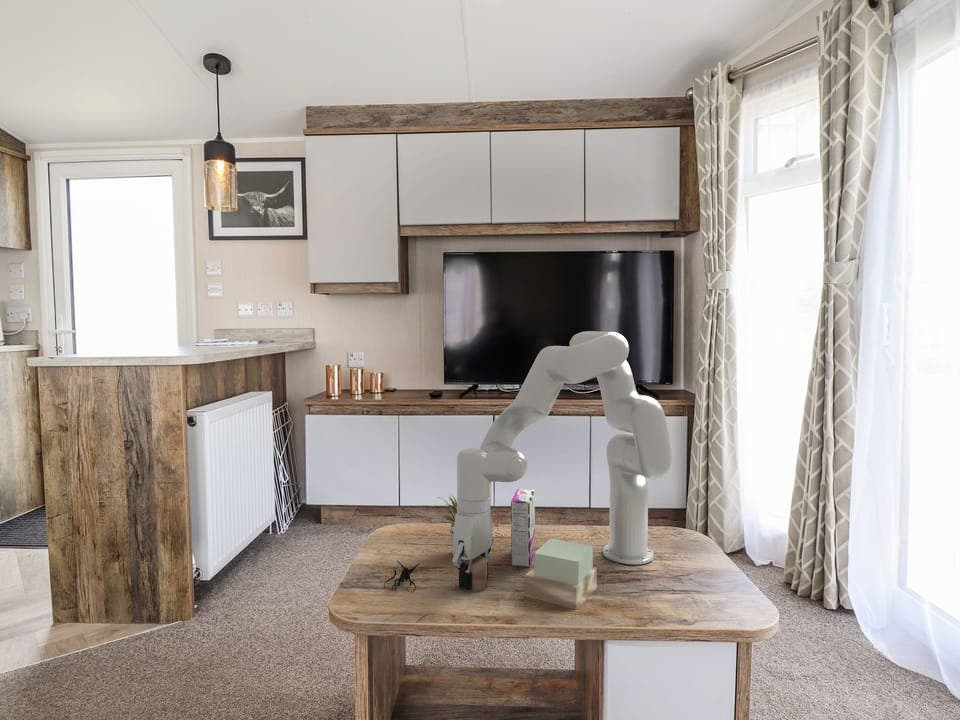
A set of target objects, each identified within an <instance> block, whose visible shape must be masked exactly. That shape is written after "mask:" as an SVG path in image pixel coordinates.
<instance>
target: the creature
mask: <svg viewBox="0 0 960 720" xmlns="http://www.w3.org/2000/svg"><path fill="white" fill-rule="evenodd" d="M396 561H397V563H398V565H400V566H401V567H402V570H401V569H400V568H398V570H399V572H400V576H399V578H398V577H396V576H397V570H396V569H394V570H393V572H394V574H393V576H392V577H391V578H389V579H387V580H385V582H384V583H383V588H385V589H386V587H385V584H386V583H387V582H390V581H391V580H392V581H393V580H394V579H395V580H394V584H392V586H388V587H387V588H388V589H389V588H392V589H391V592H393V590H394V592H396V590H397V588H398V587H400V585H401V584H400V582H401V583H404V582H408V580H409V587H411V586H412V585H414V589H413V591H412V593H414V592H415V591H416V589H417V587H416V585H415V582H413V581H412V579H411V574H413V572H414V570H415V569H416V568H417V567H418V566H419V565H421V564H422V563H421V562H420V563H418V564H416V565H414V567H412V568H410V569H409V567H408V566H404V565H403V564H401V562H399V561H398V559H396ZM397 581H398V582H397ZM405 589H406V590H407V591H408V592H410V590H409V588H408V587H405Z"/></svg>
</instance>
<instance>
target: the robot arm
mask: <svg viewBox="0 0 960 720" xmlns="http://www.w3.org/2000/svg"><path fill="white" fill-rule="evenodd" d="M629 352H630V346H629V343H628V341H627V338H625V337H624V336H623V335H622V334H620V333H619V332H615V331H593V330H592V331H581V332H579V333H576V334H574V335H573V336H572V337H571V339H570V341H569V346H565V345H564V346H562V345H553V346H552V345H550V346H549V345H548V346H546V347H544V348H543V349H540V351H539V353H538V354H537V356H536V358H535V359H534V362H533V363H532V366H531V367H530V369H529V371H528V374H527V375H526V378H525V379H524V382H523V384H522V386H521V388H520V390H519V392H518V393H517V395H516V396H515V399H514V400H513V402H512V403H510V404H509V405H508V406H507V407H506V408H505V409H503V411H502V412H501V413H500V414H499V415H498V416H497V417H496V419H495V420H494V421H493V422H492V424H491V425H490V427H489V429H488V430H487V432H486V434H485V436H484V438H483V440H482V442H481V445H480V447H479V448H465V449H462V450H460V451H459V452H458V453H457V458H456V459H457V460H456V483H457V484H456V491H457V492H456V494H457V495H456V497H457V498H456V501H457V513H455V515H456V516H454V517H455V522H454V527H453V528H454V531H453V547H452V555H453V557H452V560H451V561H452V564H453V565H454V567H455V568H456V569H457V571H458V588H459V589H462V590H463V589H466V590H469V591H470V590H472V572H470V570H471V565H472V560H473V559H474V558H476V557H477V556H479V555H480V556H483V557H485V558H486V559H487V579H488V578H489V561H490V552H491V551H492V546H493V543H494V538H493V528H492V527H493V525H492V514H491V506H492V504H491V503H492V502H491V499H492V498H491V489H492V488H491V487H492V486H491V484H492V483H493V482H500V483H513V482H516V481H520V479H522V478H524V476H525V474H526V472H527V470H528V461H527V459H526V457H525V455H524V454H523V453H522V452H520V451H519V450H517V449H515V448H512V446H513V444H514V442H515V440H516V439H517V437H518V436H519V435H520V433H522V432H523V430H525V429H527V428H528V427H529V426H531V425H534V424H536V423H539V422H540V421H542V420H544V419H545V418H547V417H548V416H549V414H550V412H551V411H552V408H553V406H554V404H555V402H556V401H557V398H558V396H559V394H560V392H561V390H562V388H563V387H564V384H568V385H576V384H581V383H583V382H587V381H589V380H592V379H594V378H597V381H598V384H599V385H598V386H599V390H600V396H601V400H602V406H603V412H604V416H605V419H606V423H607V424H608V425H609V426H610V427H611V428H613V429H616V430H619V431H623V432H619V433H617V434H615V435H613V436H612V437H611V438H610V439H609V441H608V443H607V446H606V460H607V466H608V474H609V524H608V525H609V530H608V531H609V537H608V538H609V540H608V541H609V542H608V544H606V545H604V546H603V548H602V555H603V556H604V557H605V558H606V559H608V560H610V561H612V562H615V563H619V564H625V565H645V564H649V563H650V562H652V561H653V559H654V555H655V554H654V551H652V549H650V548H649V547H648V536H649V535H648V528H649V527H648V525H649V523H648V522H649V515H648V514H649V484H648V480H647V478H648V479H652V480H657V479H660V478H663V477H664V476H666V475H667V474H668V472H669V471H670V469H671V465H672V447H671V442H670V435H669V429H668V425H667V424H668V423H667V418H666V414H665V411H664V409H663V407H662V406H661V404H660V403H659V401H657V400H656V399H655V398H653V397H650V396H648V395H642V394H639V393H638V391H637V389H636V384H635V379H634V376H633V372H632V368H631V367H630V364H629V362H628V361H627V359H628V357H629ZM464 554H466V555H467V557H464ZM464 560H467V566H466V565H465V564H464V563H463V562H464Z"/></svg>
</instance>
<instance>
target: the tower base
mask: <svg viewBox="0 0 960 720" xmlns="http://www.w3.org/2000/svg"><path fill="white" fill-rule="evenodd" d="M597 584H598V567H595V566H593V568H592V569H591V570H590V572H589V573H588V574H587V575H586V576H585V578H584V579H583V580H582V581H581V583H580V584H579V585H575V584H570V583H566V582H561V581H557V580H552V579H547V578H543V577H538V576H534V567H533V568H532V569H530V570H529V571H528V572H526V574H525V575H524V597H529V598H533V599H536V600H540V601H543V602H545V603H546V602H547V603H551V604H553V605H557V606H561V607H566V608H569V609H572V610H578V608H579V607H581V606H582V604H583V603H584V602H585V601H586V600H587V599H588V598H589V596H591V595H592V594H593V592H594V591H595V590H596V589H597V587H598V585H597Z"/></svg>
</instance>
